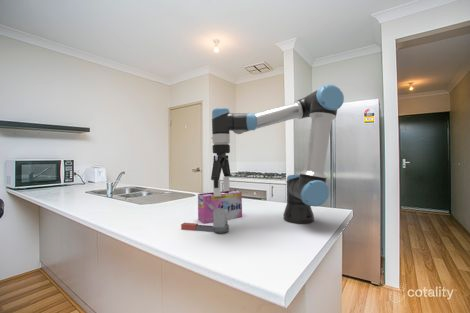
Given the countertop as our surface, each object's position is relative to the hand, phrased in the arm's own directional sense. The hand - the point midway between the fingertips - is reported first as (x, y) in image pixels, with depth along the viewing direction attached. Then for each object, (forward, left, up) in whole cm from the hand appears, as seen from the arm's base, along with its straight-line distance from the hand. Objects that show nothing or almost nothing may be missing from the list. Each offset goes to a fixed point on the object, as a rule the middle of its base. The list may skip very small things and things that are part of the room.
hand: (222, 193), depth 99 cm
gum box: (+7, -20, -17) cm, 27 cm away
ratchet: (+8, 0, -17) cm, 18 cm away
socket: (+1, 0, -14) cm, 14 cm away
